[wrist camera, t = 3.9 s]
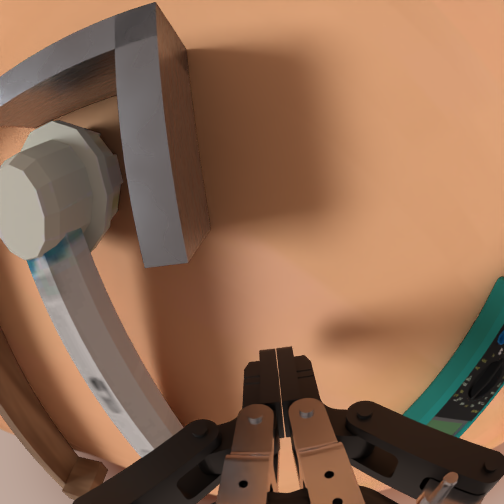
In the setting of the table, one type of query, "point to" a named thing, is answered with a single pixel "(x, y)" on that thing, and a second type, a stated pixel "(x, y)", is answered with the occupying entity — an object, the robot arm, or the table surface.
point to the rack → (42, 431)
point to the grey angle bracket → (128, 118)
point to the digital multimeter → (467, 374)
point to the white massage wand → (80, 268)
